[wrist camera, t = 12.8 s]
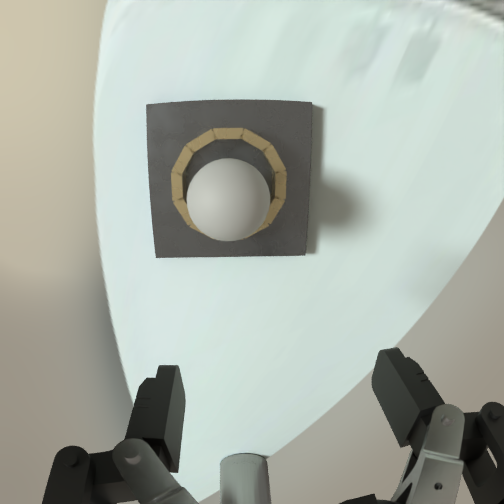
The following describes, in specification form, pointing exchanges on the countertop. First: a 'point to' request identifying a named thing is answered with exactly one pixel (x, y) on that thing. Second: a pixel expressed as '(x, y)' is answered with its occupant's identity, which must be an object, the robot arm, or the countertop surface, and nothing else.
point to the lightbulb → (228, 199)
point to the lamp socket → (237, 147)
